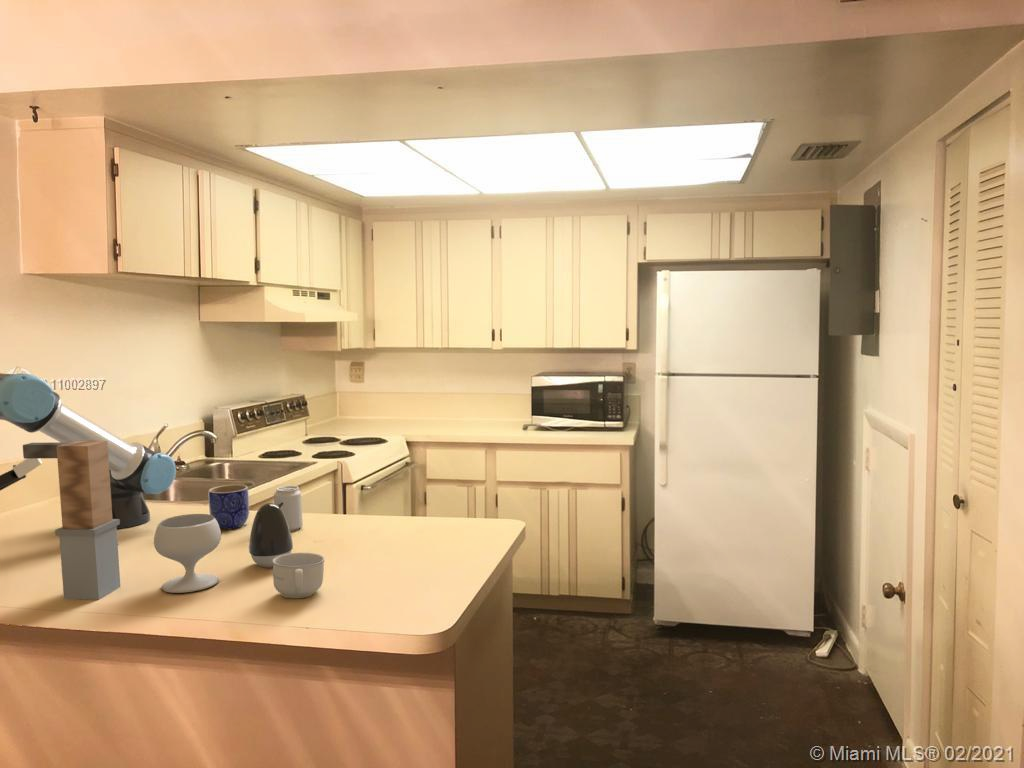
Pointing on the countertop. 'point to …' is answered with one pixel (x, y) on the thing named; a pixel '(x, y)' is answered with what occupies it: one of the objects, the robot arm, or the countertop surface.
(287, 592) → the teacup
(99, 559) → the stand
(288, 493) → the can
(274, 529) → the pump dispenser
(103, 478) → the walnut handle block
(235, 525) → the planter
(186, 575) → the chalice
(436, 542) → the countertop surface
